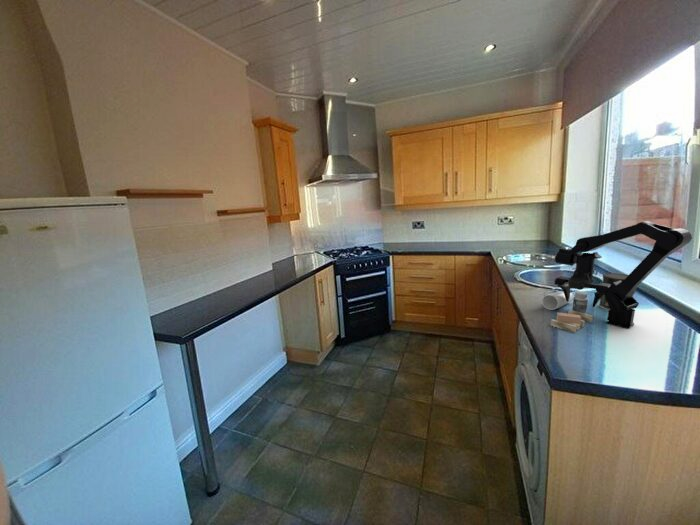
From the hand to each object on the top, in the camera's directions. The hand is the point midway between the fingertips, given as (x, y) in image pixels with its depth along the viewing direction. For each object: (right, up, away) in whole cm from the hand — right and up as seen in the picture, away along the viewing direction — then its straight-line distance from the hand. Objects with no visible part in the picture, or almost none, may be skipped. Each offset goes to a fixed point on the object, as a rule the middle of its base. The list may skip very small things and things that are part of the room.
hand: (580, 304), depth 127 cm
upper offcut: (-14, -5, -12) cm, 19 cm away
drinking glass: (+3, +2, +12) cm, 12 cm away
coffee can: (+17, -2, +4) cm, 18 cm away
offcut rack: (-11, -6, -10) cm, 16 cm away
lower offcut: (-14, -7, -12) cm, 20 cm away
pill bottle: (0, -4, +1) cm, 4 cm away
